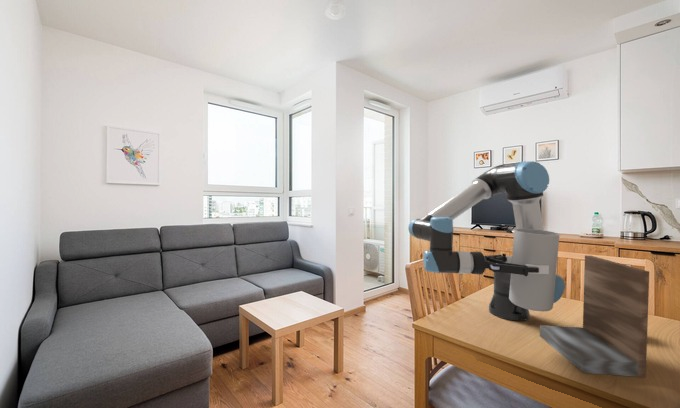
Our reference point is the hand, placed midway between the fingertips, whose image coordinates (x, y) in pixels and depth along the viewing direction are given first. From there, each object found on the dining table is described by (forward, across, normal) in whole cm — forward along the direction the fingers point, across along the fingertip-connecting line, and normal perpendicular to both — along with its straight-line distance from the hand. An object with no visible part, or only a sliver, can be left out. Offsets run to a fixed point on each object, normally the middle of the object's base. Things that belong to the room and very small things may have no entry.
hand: (536, 264), depth 97 cm
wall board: (+14, +3, -28) cm, 31 cm away
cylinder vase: (-2, 0, -14) cm, 14 cm away
